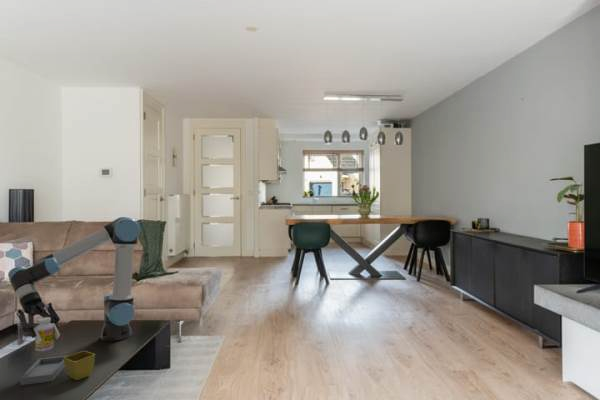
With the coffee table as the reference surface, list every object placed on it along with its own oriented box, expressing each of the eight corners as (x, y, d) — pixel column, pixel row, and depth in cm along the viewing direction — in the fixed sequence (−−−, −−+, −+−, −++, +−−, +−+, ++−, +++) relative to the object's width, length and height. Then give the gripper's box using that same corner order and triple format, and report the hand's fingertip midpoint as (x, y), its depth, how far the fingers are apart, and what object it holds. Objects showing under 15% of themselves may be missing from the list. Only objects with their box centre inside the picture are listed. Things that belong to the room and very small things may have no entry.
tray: (68, 361, 180) (68, 355, 180) (52, 381, 160) (52, 374, 160) (39, 364, 177) (39, 358, 177) (20, 385, 157) (20, 378, 157)
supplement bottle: (44, 352, 165) (44, 321, 164) (31, 351, 166) (30, 320, 166) (57, 346, 171) (57, 316, 171) (44, 345, 172) (44, 316, 172)
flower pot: (74, 384, 158) (74, 361, 158) (63, 379, 162) (62, 357, 162) (96, 375, 165) (95, 354, 165) (84, 370, 170) (84, 350, 170)
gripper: (49, 297, 185) (69, 337, 176) (0, 307, 168) (20, 352, 160) (55, 287, 182) (75, 327, 174) (6, 296, 165) (26, 341, 157)
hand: (49, 339), depth 167 cm, fingers closed on supplement bottle, 7 cm apart
